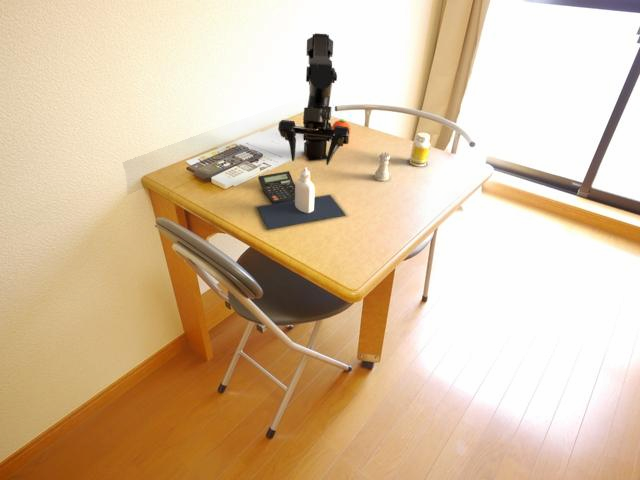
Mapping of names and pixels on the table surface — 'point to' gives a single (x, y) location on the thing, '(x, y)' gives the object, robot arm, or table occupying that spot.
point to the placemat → (299, 212)
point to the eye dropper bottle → (304, 192)
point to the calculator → (278, 187)
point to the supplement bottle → (420, 149)
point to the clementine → (341, 124)
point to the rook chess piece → (383, 168)
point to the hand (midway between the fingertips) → (309, 162)
